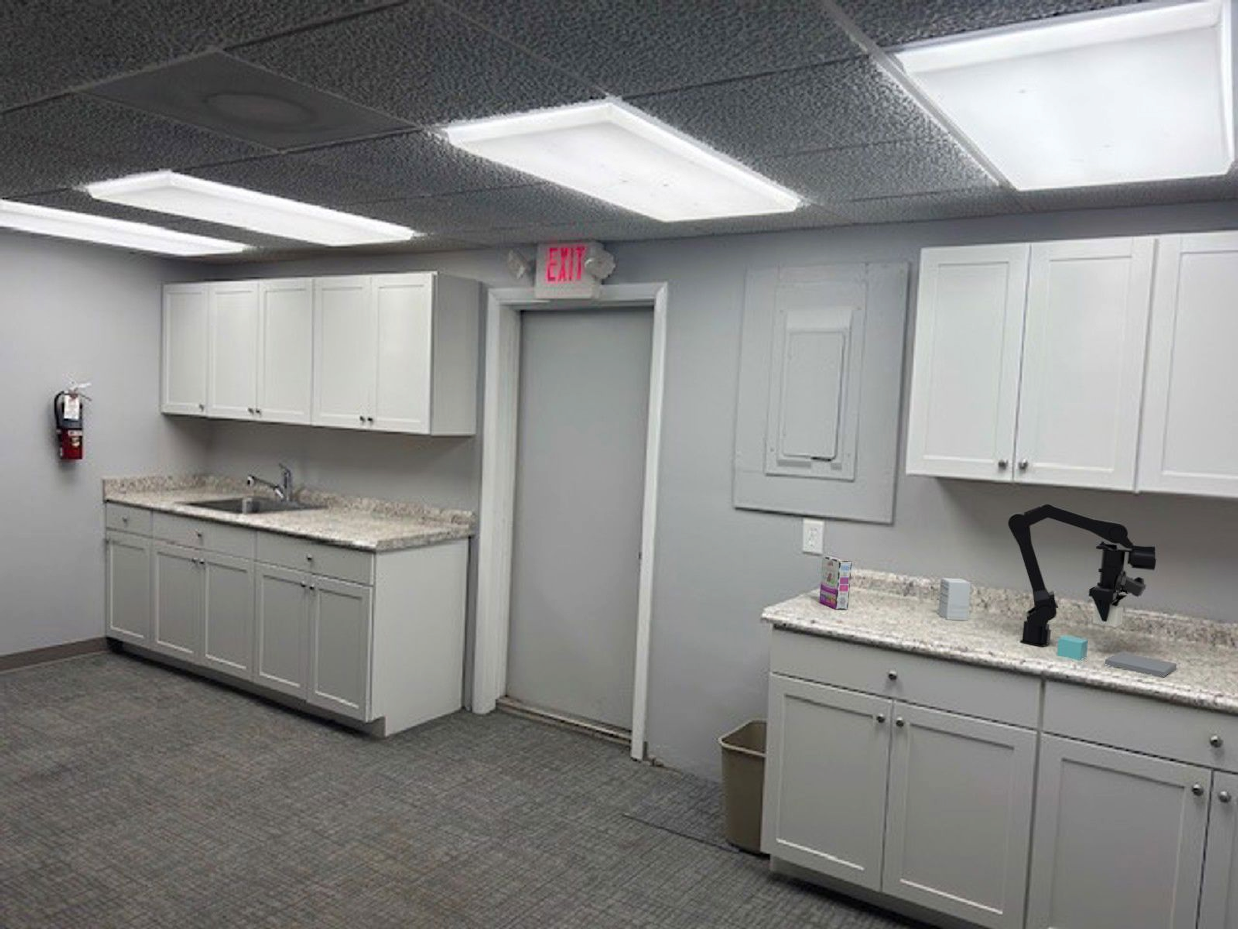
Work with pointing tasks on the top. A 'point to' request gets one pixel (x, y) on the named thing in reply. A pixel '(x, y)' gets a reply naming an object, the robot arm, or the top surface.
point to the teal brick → (1072, 647)
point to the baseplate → (1141, 664)
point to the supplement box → (954, 599)
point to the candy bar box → (835, 582)
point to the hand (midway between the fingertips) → (1107, 619)
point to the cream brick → (1109, 616)
